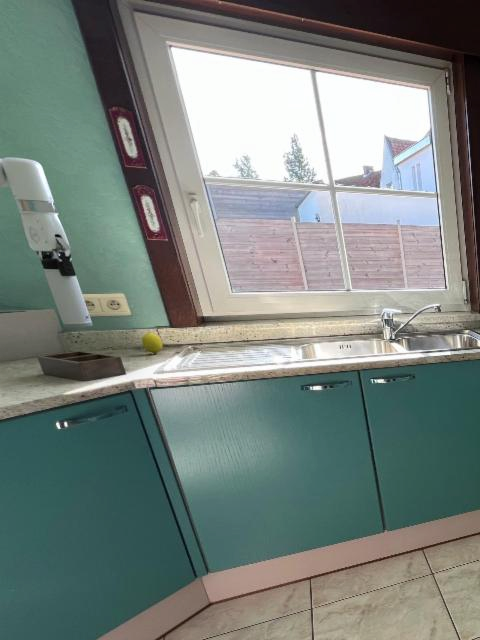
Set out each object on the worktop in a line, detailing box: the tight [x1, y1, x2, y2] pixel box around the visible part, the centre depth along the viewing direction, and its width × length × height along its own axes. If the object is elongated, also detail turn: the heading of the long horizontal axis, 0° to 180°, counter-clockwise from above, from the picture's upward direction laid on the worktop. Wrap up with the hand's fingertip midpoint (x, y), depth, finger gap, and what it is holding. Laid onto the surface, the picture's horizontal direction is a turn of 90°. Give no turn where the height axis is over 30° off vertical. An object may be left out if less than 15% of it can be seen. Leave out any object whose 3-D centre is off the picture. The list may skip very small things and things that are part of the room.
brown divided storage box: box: [36, 350, 127, 382], centre depth 153 cm, size 11×20×6 cm, turn 71°
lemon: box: [141, 332, 163, 355], centre depth 183 cm, size 6×6×8 cm
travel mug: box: [40, 257, 94, 329], centre depth 147 cm, size 6×7×20 cm
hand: (61, 274), depth 145 cm, fingers closed on travel mug, 6 cm apart
